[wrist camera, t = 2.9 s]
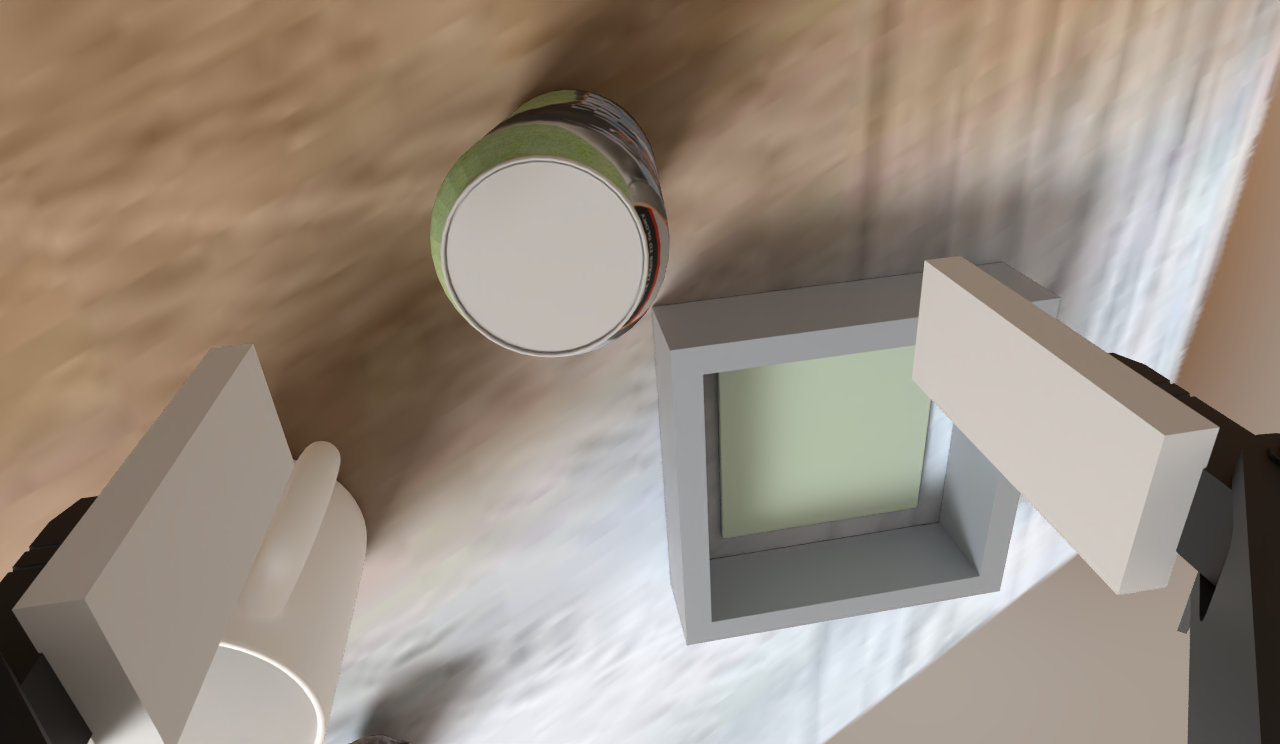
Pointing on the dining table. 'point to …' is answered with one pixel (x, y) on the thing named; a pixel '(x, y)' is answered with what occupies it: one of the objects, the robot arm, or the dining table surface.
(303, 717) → the mug
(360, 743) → the rock
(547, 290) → the beverage can
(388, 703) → the dining table surface
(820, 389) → the corral
